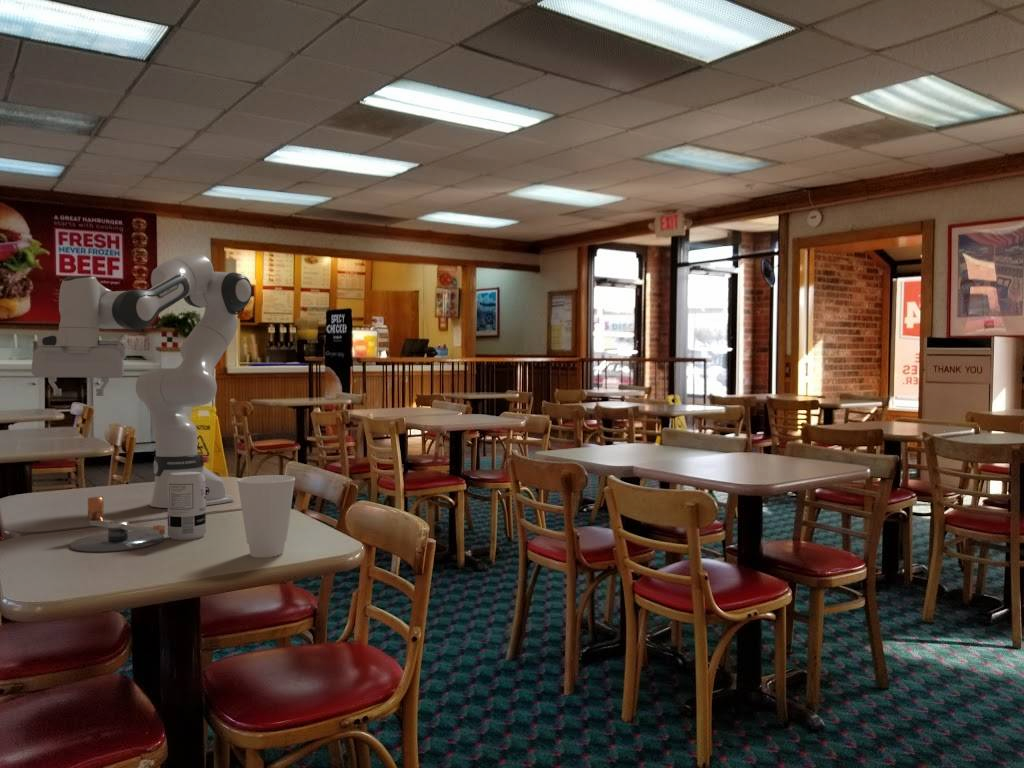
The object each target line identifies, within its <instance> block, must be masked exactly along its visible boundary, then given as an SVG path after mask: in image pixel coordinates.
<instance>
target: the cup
mask: <svg viewBox="0 0 1024 768" xmlns="http://www.w3.org/2000/svg"><path fill="white" fill-rule="evenodd" d="M295 481H296V478H295V476H291V475H283V474H282V475H281V474H269V475H268V474H267V475H266V474H265V475H253V476H251V475H250V476H246V477H240V478H238V479H237V481H236V482H237V487H238V493H239V499H240V506H241V512H242V519H243V524H244V525H243V527H244V531H245V532H244V533H245V538H246V543H247V545H248V549H249V555H250V556H251V557H252V558H253V557H254V558H273V556H274V557H278V555H279V556H281V554H282V555H283V554H284V553H285V546H286V545H285V543H286V542H287V541H288V533H289V526H290V525H289V524H290V520H291V519H290V518H291V517H290V516H291V510H292V504H293V503H292V502H293V495H294V487H295Z"/></svg>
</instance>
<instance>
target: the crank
mask: <svg viewBox="0 0 1024 768" xmlns="http://www.w3.org/2000/svg"><path fill="white" fill-rule="evenodd" d="M104 515H105V514H104V497H103V496H91V497H88V498H87V521H88V522H89V526H95V527H99V528H106V529H107V531H108V530H121V529H124V530H128V531H136V532H143V533H149V534H153V535H165V534H166V531H165V530H166V528H165V527H166V526H164V525H160V524H159V525H153V527H151V526H145V525H139V524H132V523H129V521H128V520H111V519H105V518H104Z"/></svg>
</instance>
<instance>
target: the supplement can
mask: <svg viewBox="0 0 1024 768" xmlns="http://www.w3.org/2000/svg"><path fill="white" fill-rule="evenodd" d="M167 500H168V508H167V536H168V537H170V539H171V540H175V541H189V540H197V539H200V538H202V537H203V536H204V535H205V534H206V530H207V527H206V526H207V524H206V522H207V521H206V519H207V518H206V517H207V514H206V511H207V510H206V509H207V508H206V506H207V505H206V499H205V477H204V475H203V473H202V472H201V471H180V472H173V473H170V476H169V478H168V480H167Z"/></svg>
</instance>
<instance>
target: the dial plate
mask: <svg viewBox="0 0 1024 768" xmlns="http://www.w3.org/2000/svg"><path fill="white" fill-rule="evenodd" d="M164 535H165V534H164ZM164 535H153V534H149V533H143V532H136V531H130V530H124V529H121V530H108V529H107V533H100V534H99V533H98V534H94V535H93V534H92V535H89V536H84V537H80V538H78V539H74V540H73V541H71V542H70V544H69V545H70V549H71V550H73V551H76V552H82V553H115V552H116V553H117V552H125V551H132V550H139V549H144V548H148V547H153V546H155V545H158V544H160V543H163V541H164V540H165V536H164Z"/></svg>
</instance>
